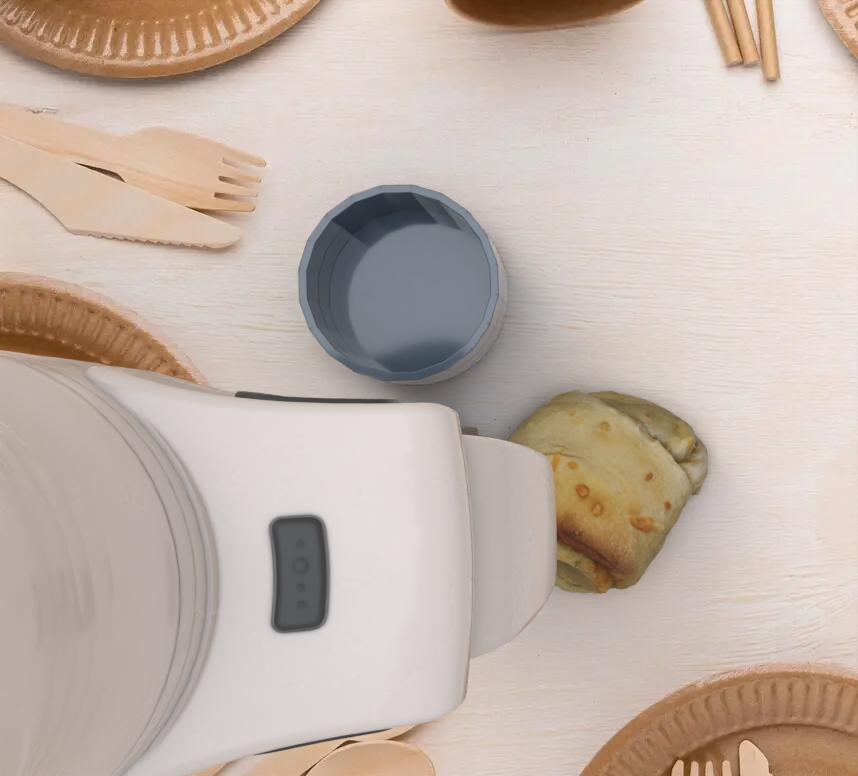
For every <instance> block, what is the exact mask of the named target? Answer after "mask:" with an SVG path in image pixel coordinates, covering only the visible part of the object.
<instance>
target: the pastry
mask: <svg viewBox="0 0 858 776" xmlns="http://www.w3.org/2000/svg"><path fill="white" fill-rule="evenodd" d="M506 441H510V442H513V443H517V444H520V445H523V446H526V447H529V448H532V449H534V450H536V451H538V452H540V453H542V454H544V455H545V456H546V457H547V458H548V459H549V460H550V462H551V464H552V468H553V473H554V486H555V503H556V524H557V572H556V580H555V584H554V586H556V587H558V588H559V589H561V590H563V591H564V592H568V593H579V594H594V595H595V594H600V595H601V594H606V593H607V592H608V591H609V590H612V589H616V590H626V589H629V588H631V587H633V586H636V585H637V583H639V581H640V580H641V579H642V577H643V576H644V575H645V574H646V571H648V568H649V566H650V565H651V563H652V562H653V560H654V559H655V558H656V557H657V556H658V554H659V553H660V552H661V550H662V548H663V547H664V544H665V541H666V539H667V537H668V535H669V533H670V532H671V531H672V529H673V528H674V526H675V525H676V523H678V520H679V518H680V516H681V513H682V511H683V509H684V508H685V506H686V505H687V503H688V501H689V498H690V497H691V496H698V495H700V492H701V491H702V488H703V486H704V483H705V481H706V477H707V476H708V470H709V461H708V459H709V458H708V450H707V447H706V445H705V443H704V441H702V439H701V438H699V437H698V436H697V435H696V433H695V429H694V428H693V426H691V425H690V424H689V422H686V421H685V420H683V419H682V418H680V417H679V416H677V415H676V414H674V413H672V412H671V411H669V410H668V409H666V408H664V407H662V406H661V405H659V404H657V403H654V402H651V401H650V400H646V399H644V398H640V397H637V396H634V395H633V396H632V395H628V394H624V393H620V392H617V391H614V390H600V391H593V392H591V391H590V392H587V393H586V392H584V391H580V390H578V389H574V390H570V391H565V392H561V393H559V394H556V395H554V396H552V397H550V398H549V399H548V400H546V401H545V402H544V403H543V404H542V405H540V406H539V407H538V408H537V409H536V410H535V411H534V412H533V413H532V414H530V415H529V416H528V417H527V418H526V419H524V420H523V421H522V422H521V423H520V425H519V426H518V427H517V429H516V430H515V431H514V432H513V433H512V434H511V435H510V436H509V437H508V438H507V439H506Z"/></svg>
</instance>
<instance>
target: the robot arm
mask: <svg viewBox="0 0 858 776" xmlns="http://www.w3.org/2000/svg"><path fill="white" fill-rule="evenodd" d="M461 427H462V426H461V420H460V416H459V413H458V412H457V411H456V410H455V409H454V408H451V407H450V406H447V405H445V404H441V403H438V402H401V400H400V399H395V398H394V399H393V398H341V397H340V398H338V397H308V396H307V397H305V396H287V395H279V394H273V393H265V392H257V391H247V390H238V391H236V392H232V391H227V390H223V389H219V388H215V387H213V386H212V387H211V386H208V385H204V384H200V383H197V382H195V381H194V382H193V381H190V380H188V379H187V380H186V379H182V378H178V377H175V376H171V375H167V374H164V373H160V372H156V371H151V370H145V369H140V368H139V369H138V368H132V367H124V366H117V365H116V366H114V365H107V364H103V363H99V362H93V361H86V360H79V359H72V358H64V357H55V356H47V355H40V354H32V353H25V352H19V351H12V350H4V349H0V776H191V775H194V774H196V773H199V772H201V771H205V770H208V769H210V768H211V769H212V768H214V767H217V766H220V765H223V764H227V763H230V762H233V761H238V760H240V759H245V758H247V757H252V756H261V755H267V754H273V753H278V752H282V751H287V750H292V749H297V748H301V747H307V746H312V745H315V744H316V745H317V744H322V743H327V742H332V741H338V740H339V741H340V740H344V739H350V738H356V737H361V736H366V735H367V736H368V735H373V734H379V733H382V732H386V731H389V730H391V729H394V728H396V729H397V728H402V727H407V726H415V725H420V724H426V723H430V722H434V721H437V720H439V719H442V718H444V717H447V716H448V715H450V714H451V713H453V712H455V711H456V710H457V709H458V708H459V707H460V706H462V704H463V703H464V702H465V699H466V697H467V694H468V693H467V692H468V685H469V676H470V675H469V674H470V665H471V660H473V659H476V658H479V657H481V656H484V655H487V654H489V653H492V652H493V651H495V650H498V649H500V648H501V647H503V646H504V645H507V644H508V643H510V642H511V641H513V640H514V639H515V638H517V637H518V636H519V635H520V634H521V633H522V632H523V631H524V630H525V629H526V628H527V627H528V626H529V624H531V622H532V621H533V620H534V619H536V616H538V614H539V613H540V612H541V610H542V609H543V607H544V605H545V604H546V603H547V602H548V599H549V597H550V596H551V594H552V593H553V589H554V588H555V585H554V584H555V580H556V572H557V524H556V503H555V486H554V473H553V468H552V464H551V462H550V460H549V459H548V458H547V457H546V456H545V455H544V454H542V453H540V452H538V451H536V450H534V449H532V448H529V447H526V446H523V445H520V444H517V443H513V442H510V441H507V440H505V439H500V438H495V437H490V436H489V437H488V436H483V435H481V436H480V435H477V436H473V435H464V434H462V432H461Z"/></svg>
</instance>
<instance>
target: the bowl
mask: <svg viewBox="0 0 858 776" xmlns="http://www.w3.org/2000/svg"><path fill="white" fill-rule="evenodd" d="M297 276H298V277H297V280H298V283H297V284H298V302H299V305H300V308H301V310H302V314H303V316H304V319H305V322H306V324H307V327H308V330H309V332H310V333H311V335H312V336H313V337H314V338H315V339H316V341H317V342H318V343H319V345H320V346H321V347H322V348H323V350H324V351H325V352H326V353H327V354H328V356H330V357H331V358H333V360H335V361H337V362H338V363H340V364H341V365H343V366H345V367H346V368H348V370H350V371H352V372H353V373H356V374H359V375H362V376H366V377H370V378H372V379H377V380H380V381H384V382H388V383H392V384H398V385H402V386H405V385H407V386H408V385H411V386H415V385H416V386H421V385H433V384H436V383H440V382H444V381H447V380H449V379H453V378H455V377H457V376H459V375H461V374H462V373H464V372H466V371H468V370H469V369H470V368H472V367H473V366H474V365H476V364H477V363H478V362H479V361H480V360H481V359H482V358H483V357H484V356H486V354H487V353H488V351H490V349H491V348H492V347H493V345H494V343H495V342H496V340H497V338H499V334H500V333H501V331H502V328H503V325H504V323H505V321H506V316H507V310H508V305H509V285H508V278H507V273H506V270H505V267H504V264H503V261H502V258H501V256H500V254H499V251H498V249H497V247H496V246H495V244H494V243H493V241H492V239H491V238H490V236H489V235H488V234H487V233H486V231H485V229H483V227H482V226H481V225H480V224H479V222H478V221H477V220H476V218H475V217H474V216H473V215H472V214H471V212H470V211H469V210H468V209H466V208H465V207H463V206H462V205H460V204H459V203H458V202H456V201H455V200H454V199H452V198H450V197H449V196H447V195H446V194H444V193H442V192H440V191H436V190H432V189H429V188H425V187H423V186H420V185H415V184H380V185H377V186H374V187H371V188H368V189H365V190H362V191H359V192H356V193H353V194H351V195H349V196H347V198H345V199H344V200H342V201H341V202H340V203H338V204H337V205H336V206H334V207H333V208H331V210H329V211H328V212H327V213H325V214H324V216H323V217H322V218H321V219H320V221H319V222H318V223H317V225H316V227H315V228H314V229H313V230H312V232H311V234H310V235H309V236H308V238H307V240H306V242H305V246H304V249H303V252H302V256H301V259H300V262H299V265H298V270H297Z"/></svg>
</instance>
